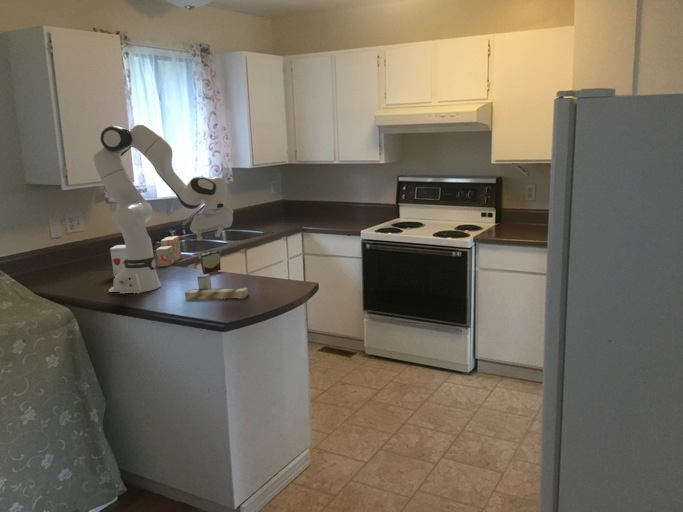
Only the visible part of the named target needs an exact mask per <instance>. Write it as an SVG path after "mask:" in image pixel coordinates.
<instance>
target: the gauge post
mask: <svg viewBox="0 0 683 512" xmlns="http://www.w3.org/2000/svg"><path fill="white" fill-rule="evenodd" d="M197 285H198V289H213V287H212V280H211V273H209V274H203V273H202V274H200V275H198V276H197Z"/></svg>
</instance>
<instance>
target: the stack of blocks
mask: <svg viewBox="0 0 683 512" xmlns="http://www.w3.org/2000/svg"><path fill="white" fill-rule="evenodd" d="M160 242H161V243H160V244H161V245H160V247H157V248H155V249H156V252H155V253H156V261H157V266H158V267H170V266H171V265H173V264H174V263H175V262H177V261H178V260H180V259H181V258H182V257H183V256H182V252H181V243H180V236H179V235H173V236H172V235H171V236H167V237H164V238H163V239H161V240H160Z"/></svg>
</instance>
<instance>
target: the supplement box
mask: <svg viewBox="0 0 683 512" xmlns="http://www.w3.org/2000/svg"><path fill="white" fill-rule="evenodd" d="M109 251H110V256H111V264H112V270H113V271H112V272H113V278H114V277H115V276H116V275H117V274H118V273H119V272H120V271H121V270H123V269H124V268H125V264H123V261H125V260H126V259H127V253H126V246H125V244H117V245H116V244H115V245H114V246H113V247H111V248H109Z"/></svg>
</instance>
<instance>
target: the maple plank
mask: <svg viewBox="0 0 683 512" xmlns="http://www.w3.org/2000/svg"><path fill="white" fill-rule="evenodd" d="M184 295H185V298H184V299H185V301H188V300H189V301H192V300H195V299H199V300H226V299H225V298H238V299H245V298H246V297H247V296H248V295H249V291H248V287H230V288H229V287H228V288H227V287H225V288H212V289H199V288H193V289H191V288H190V289H188V290H186V291H185V292H184ZM223 298H224V299H223ZM195 301H196V300H195Z"/></svg>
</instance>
